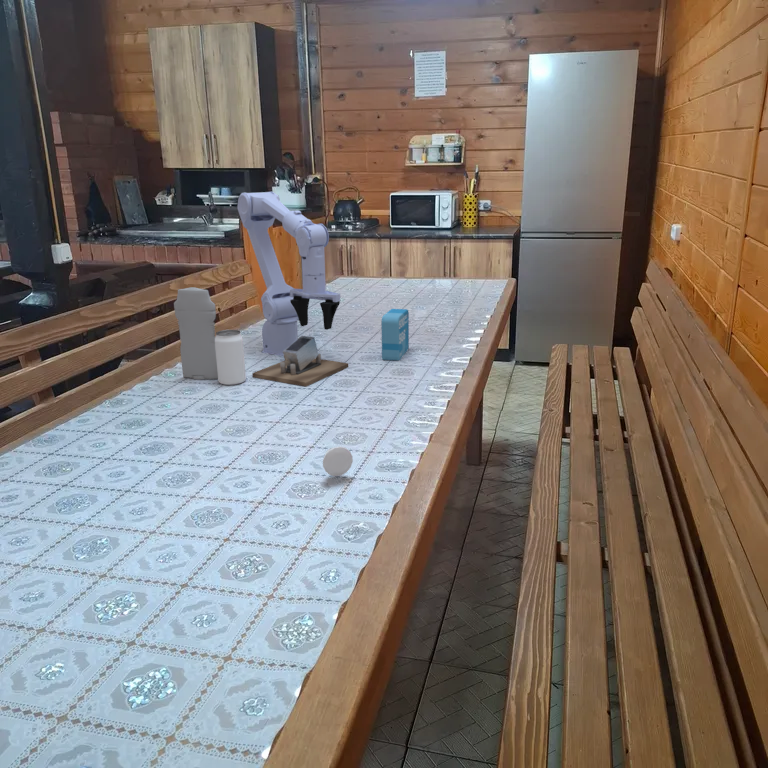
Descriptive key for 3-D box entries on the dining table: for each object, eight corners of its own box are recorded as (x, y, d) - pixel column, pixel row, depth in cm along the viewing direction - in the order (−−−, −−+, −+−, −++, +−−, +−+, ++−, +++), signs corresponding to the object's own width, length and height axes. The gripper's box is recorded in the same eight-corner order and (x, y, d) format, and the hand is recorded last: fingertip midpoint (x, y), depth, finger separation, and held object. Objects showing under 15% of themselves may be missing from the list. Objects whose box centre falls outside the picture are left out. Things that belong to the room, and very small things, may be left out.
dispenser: (177, 378, 163) (167, 288, 156) (185, 373, 167) (176, 285, 160) (218, 381, 161) (209, 289, 154) (225, 376, 165) (217, 286, 158)
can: (251, 378, 162) (247, 330, 158) (237, 386, 156) (232, 336, 153) (227, 376, 164) (223, 328, 160) (213, 384, 158) (208, 334, 155)
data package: (398, 363, 174) (398, 317, 170) (381, 362, 175) (381, 316, 171) (408, 351, 185) (408, 308, 181) (392, 350, 186) (392, 307, 182)
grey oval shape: (325, 479, 109) (323, 451, 108) (319, 472, 112) (318, 444, 110) (353, 474, 111) (353, 446, 109) (347, 467, 114) (346, 439, 112)
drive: (287, 369, 165) (282, 351, 162) (305, 352, 171) (301, 335, 168) (300, 371, 163) (295, 353, 160) (318, 354, 169) (314, 337, 166)
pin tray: (252, 377, 163) (251, 363, 162) (297, 359, 178) (297, 346, 177) (305, 386, 156) (305, 372, 155) (348, 367, 170) (348, 353, 169)
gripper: (280, 274, 169) (283, 327, 173) (327, 278, 161) (329, 333, 166) (298, 270, 174) (300, 321, 178) (344, 274, 167) (346, 327, 171)
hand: (315, 327), depth 172 cm, fingers open, 7 cm apart
